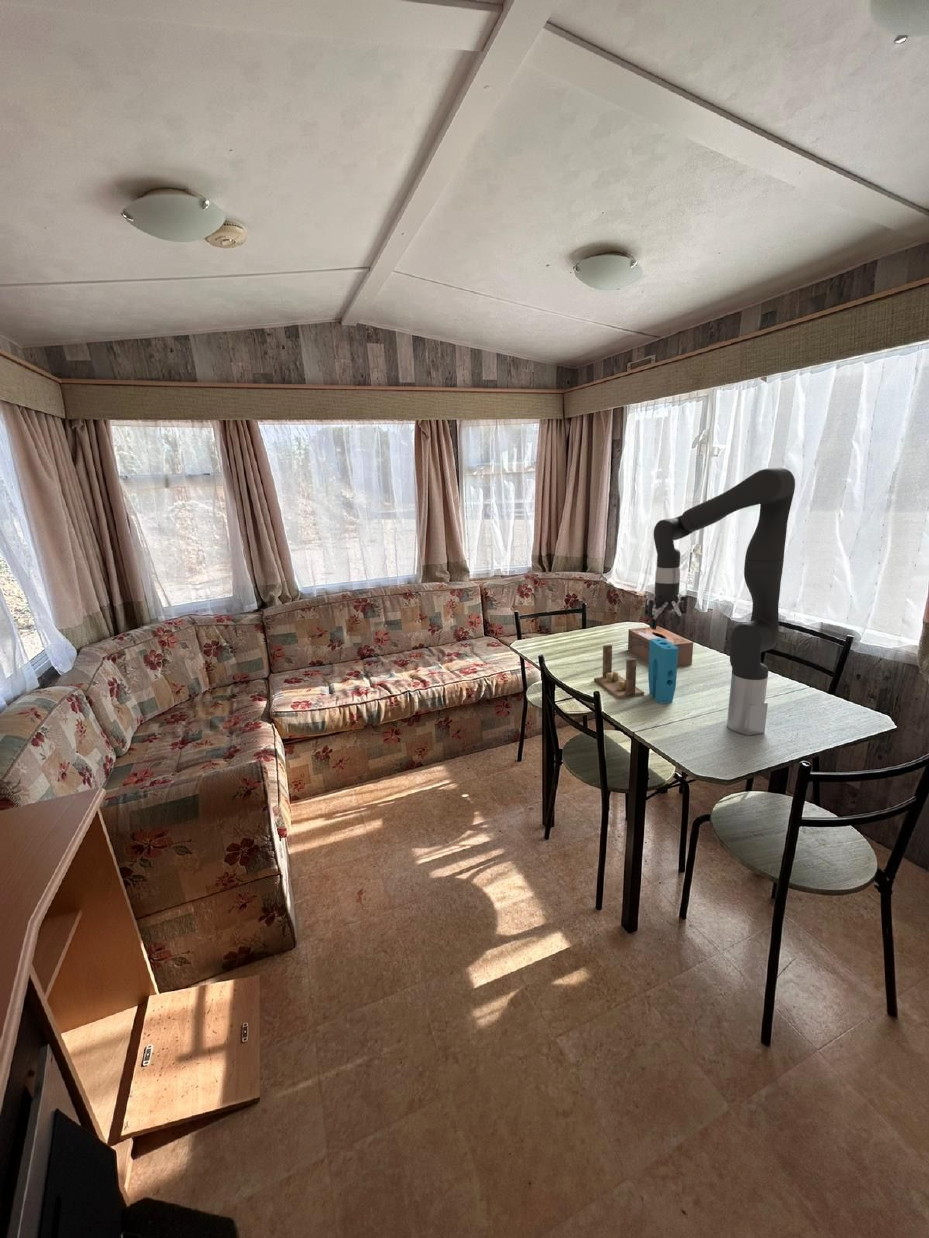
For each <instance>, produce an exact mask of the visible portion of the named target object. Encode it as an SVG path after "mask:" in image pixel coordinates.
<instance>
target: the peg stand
mask: <svg viewBox="0 0 929 1238" xmlns="http://www.w3.org/2000/svg"><path fill="white" fill-rule="evenodd" d="M625 660H626V664H625V666H626V667H625V678H624V677H622V676H620V673H619V672H618V671H612V668H613V666H612V665H613V645H612V644H604V645H602V676H600V677H594V678H593V681H594V682H595V683H596V684H598V685H599V686H600V687H601V688H603V689H604V690H606V692H608V693H610V694H611V695H612V696H614V697H615V698H617V699H618V700H621V699H628V698H634V697H635V698H636V697H640V696H645V691H644V690H642V689H640V688H639V687H637V686H636V684H637V682H636V681H637V663H638V662H637V661H638V660H637V658H635V657H632V658H631V657H630V658H626V659H625Z"/></svg>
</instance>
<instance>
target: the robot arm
mask: <svg viewBox="0 0 929 1238" xmlns="http://www.w3.org/2000/svg"><path fill="white" fill-rule="evenodd" d="M795 490H796V479H795V476H794V474H793V473H792V472H791V471H790V470H789V469H788V468H784V467H768V468H762V469H759V470H757V471H756V472H754V473H753V474H751V475H749V476H748V477H747V478H745V479H743V480H742V481H740V482H739V483H738V484H736V485H734V486H733V487H731V488H729V489H728V490H726V491H725V492H723V493H721V494H718V495H717V496H714V497H713V498H710V499H708V500H706V501H703V502H701V503H699V504H697V505H694V506H692V507H690V508H688V509H686V510H685V511H684V512H683V513H682V514H681V515H679V516H676V517H674V518H673V517H672V518H665V519H661V520H659V521H658V522H657V523H656V524H655V525H654V528H653V540H654V545H655V550H656V555H657V556H656V570H655V576H654V579H655V580H654V599H653V598H652V599H650V598H646V599H645V603H644V605H645V606H644V615H643V616H645V617H646V618H648V619H649V627H651V629H653V630H656V626H657V622H658V617H659V615H660V614H661V613H662V612H667V611H672V613H673V614H674V615H673V616H672V617H673V619H672V626H673V627H675V628H679V626H680V624H681V616H682V615H686V614H687V612H688V611H687V610H688V609H687V605H688V604H687V603H688V602H687V600H688V598H687V596H685V595H682V594H680V581H681V568H680V567H681V551H680V549H678V548H675V544H674V541H677V540H680V539H683V538H685V537H687V536H689V535H690V534H693V533H694V532H695V531H699V530H701V529H704V528H707V527H708V526H711V525H713V524H715V523H718V522H719V521H721V520H723V519H724V518H726V517H727V516H729V515H730V514H732V513H734V512H736V511H739V510H741V509H746V508H748V507H749V508H750V507H754V506H758V505H759V517H758V520H757V526H756V528H755V531H754V532H753V534H752V537H751V538H750V541H749V543H748V546H747V547H746V552H745V557H744V567H743V578H744V581H745V584H746V587H747V589H748V591H749V594H750V596H751V601H752V608H751V616H750V621H747V622H743V623H738V624H736V626H734V628H733V629H732V631H731V634H730V635H731V636H730V640H729V641H730V643H729V644H730V645H729V663H730V666H731V677H730V689H729V700H728V708H727V721H726V726H727V727H728V729H730V730H731V731H732V732H736V733H738V734H743V735H745V736H754V735H759V734H764V733H765V731H766V724H767V714H768V705H769V704H768V702H766V697H767V685H768V679H769V667H768V666H767V665H766V664H764V663H762V662H761V661H762V659H761V658H762V657H761V656H762V655H761V654H762V652H767V651H769V650H771V649H773V648H774V647H775V646H776V644H777V642H778V640H779V631H780V630H779V629H780V626H779V625H780V621H779V605H780V602H779V601H780V595H781V594H780V593H781V584H782V582H781V581H782V578H783V577H782V576H783V569H784V559H785V548H786V539H787V530H788V529H787V528H788V521H789V516H790V511H791V507H792V502H793V498H794V493H795ZM677 603H678V604H677Z"/></svg>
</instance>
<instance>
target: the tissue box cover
mask: <svg viewBox="0 0 929 1238" xmlns="http://www.w3.org/2000/svg"><path fill="white" fill-rule="evenodd" d="M627 632H628V634H627V635H628V637H627V638H628V641H627V650H628V651H629V652H631V653H633V654H634V655H636V656H637V657H639V658H641V659H642V660H643V661H646V662H647V663H649V647H650V639H655V638H663V639H665V640H667V641H668V642H670V643H672V644H673V645H675V646H676V647H678V660H677V668H679V667H685V666H692V665H693V656H694V655H693V652H694V651H693V650H694V642H693V641H691V640H689V639H687V638H685V637H683V636H681V635H678V634H676V633H674V632H672V631H670V630H667V629H665V628H663V627H660V626H659V625H656V630H653V629H651V627H650V626H647V627H639V628H629V629H628V631H627Z"/></svg>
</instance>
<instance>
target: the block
mask: <svg viewBox="0 0 929 1238" xmlns="http://www.w3.org/2000/svg"><path fill="white" fill-rule="evenodd" d="M677 660H678V647H676V646H675V645H673V644H672V643H670V642H668V641H667V640H665V639H663V638H655V639H650V647H649V662H648V671H647V672H648V674H647V675H648V691H649V696H651V698H654V700H655V701H656V702H657V703H658V704H671V703H673V701H674V696H675V692H676V688H677V687H676V686H677V674H678V667H677Z"/></svg>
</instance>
